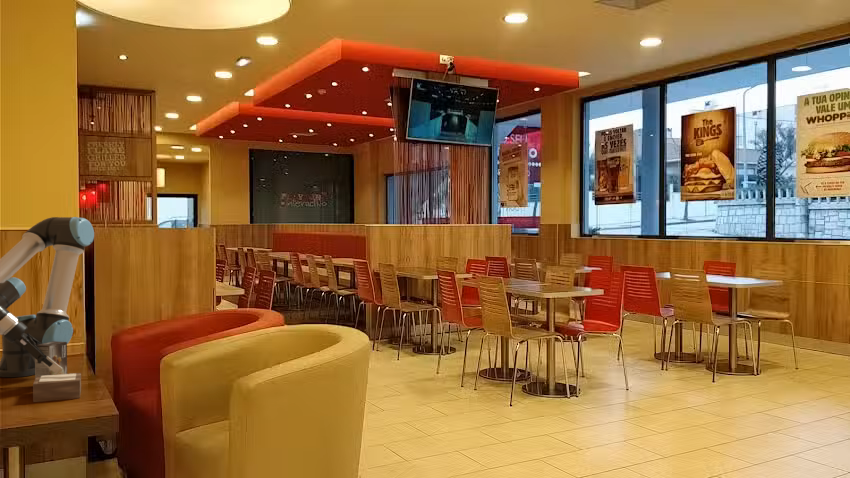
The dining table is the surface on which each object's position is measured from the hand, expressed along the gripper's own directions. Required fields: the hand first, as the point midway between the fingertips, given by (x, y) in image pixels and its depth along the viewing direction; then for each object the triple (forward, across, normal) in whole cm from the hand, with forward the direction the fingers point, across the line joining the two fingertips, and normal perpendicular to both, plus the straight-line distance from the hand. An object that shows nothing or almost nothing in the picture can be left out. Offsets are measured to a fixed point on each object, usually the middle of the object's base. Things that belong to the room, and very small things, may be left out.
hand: (59, 367), depth 254 cm
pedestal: (+5, +16, -5) cm, 17 cm away
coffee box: (+3, 0, -7) cm, 8 cm away
